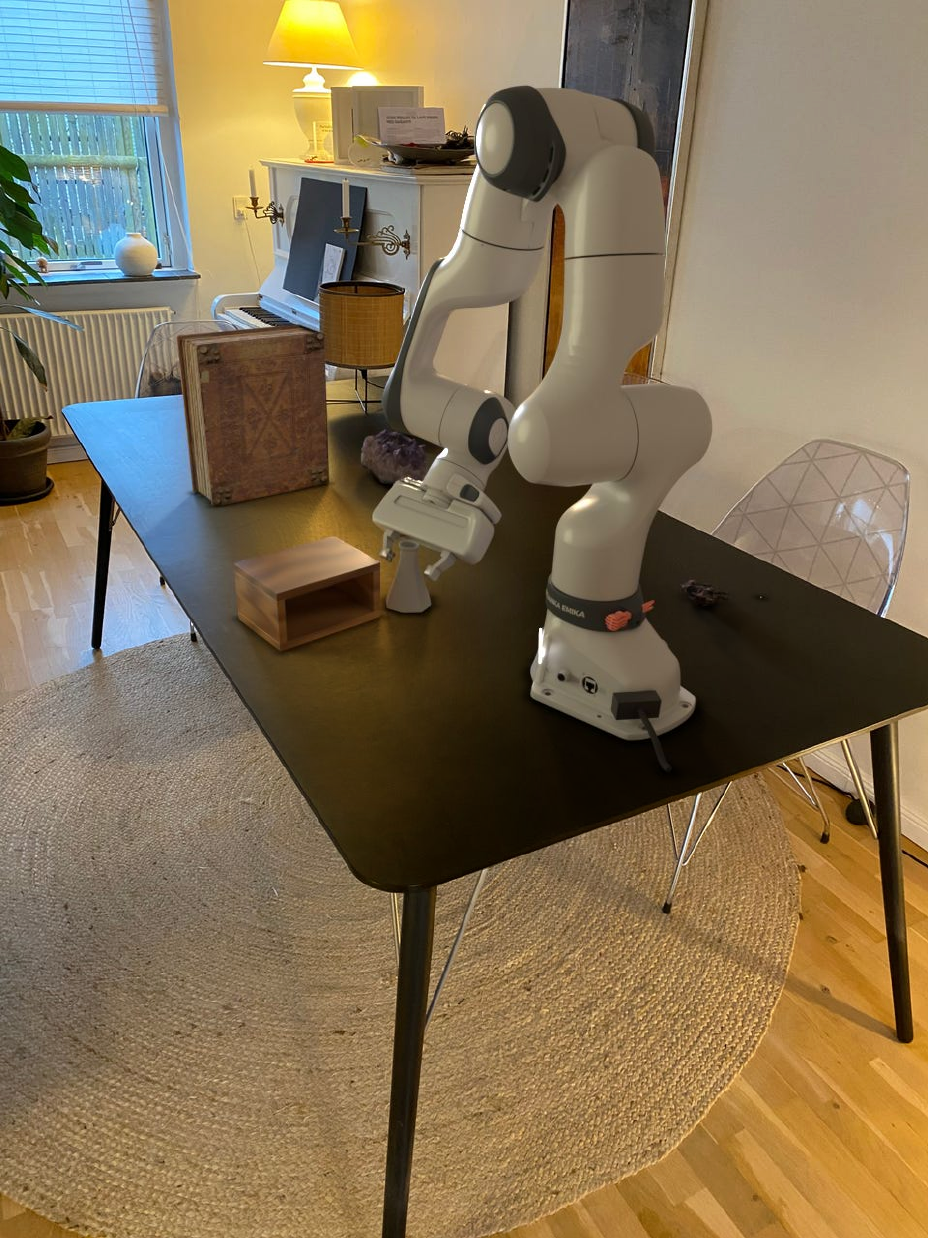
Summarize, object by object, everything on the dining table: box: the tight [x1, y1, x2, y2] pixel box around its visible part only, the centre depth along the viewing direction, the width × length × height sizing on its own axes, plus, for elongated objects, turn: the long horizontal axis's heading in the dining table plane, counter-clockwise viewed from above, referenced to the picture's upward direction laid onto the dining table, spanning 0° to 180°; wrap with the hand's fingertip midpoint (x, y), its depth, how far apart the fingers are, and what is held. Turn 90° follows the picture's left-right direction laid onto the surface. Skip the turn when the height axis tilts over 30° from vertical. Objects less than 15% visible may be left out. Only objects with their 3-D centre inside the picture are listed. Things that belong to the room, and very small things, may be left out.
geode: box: [360, 429, 429, 486], centre depth 186 cm, size 20×12×10 cm, turn 31°
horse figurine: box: [680, 579, 762, 607], centre depth 143 cm, size 9×4×15 cm
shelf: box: [233, 535, 381, 652], centre depth 132 cm, size 12×17×9 cm
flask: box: [385, 539, 432, 614], centre depth 137 cm, size 7×7×10 cm
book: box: [176, 323, 330, 508], centre depth 173 cm, size 25×9×30 cm, turn 127°
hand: (406, 569), depth 136 cm, fingers open, 8 cm apart
